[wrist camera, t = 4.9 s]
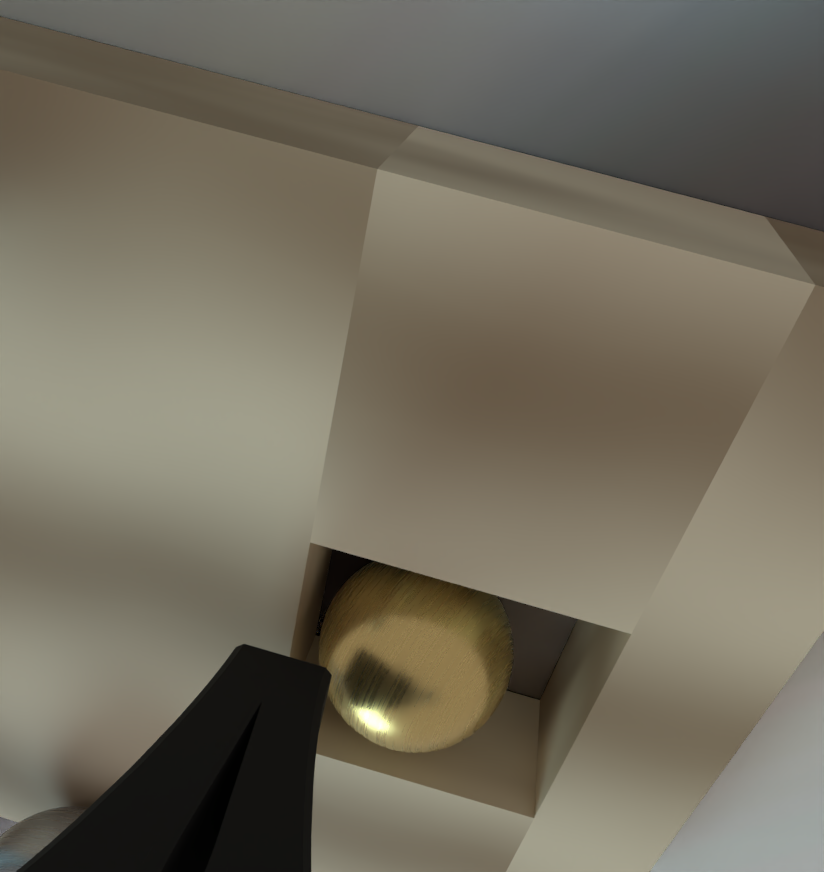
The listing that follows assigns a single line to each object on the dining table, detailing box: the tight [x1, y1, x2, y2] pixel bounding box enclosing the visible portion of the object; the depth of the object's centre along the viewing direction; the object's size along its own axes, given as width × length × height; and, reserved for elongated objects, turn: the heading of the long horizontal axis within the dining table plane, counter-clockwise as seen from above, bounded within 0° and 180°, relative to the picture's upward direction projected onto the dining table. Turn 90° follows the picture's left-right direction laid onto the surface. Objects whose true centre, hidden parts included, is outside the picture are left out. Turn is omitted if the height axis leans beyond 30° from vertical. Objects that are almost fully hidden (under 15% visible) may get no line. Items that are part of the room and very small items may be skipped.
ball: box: [319, 561, 513, 753], centre depth 13 cm, size 3×3×3 cm
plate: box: [0, 17, 824, 872], centre depth 13 cm, size 15×15×2 cm
